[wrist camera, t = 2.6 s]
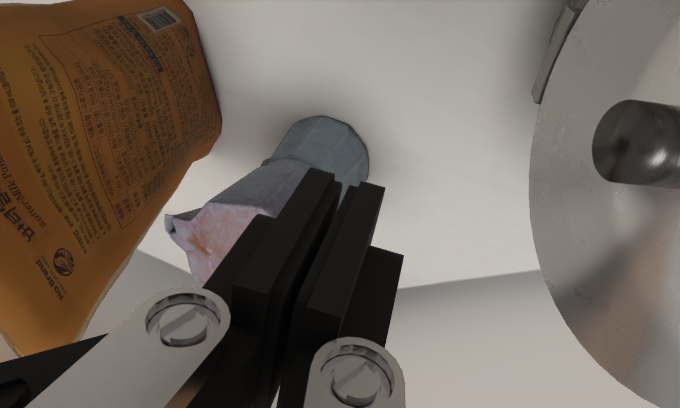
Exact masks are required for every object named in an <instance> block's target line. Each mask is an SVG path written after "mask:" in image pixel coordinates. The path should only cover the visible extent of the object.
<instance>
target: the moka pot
mask: <svg viewBox="0 0 680 408" xmlns="http://www.w3.org/2000/svg"><path fill="white" fill-rule="evenodd" d="M310 167H312V168H316V169H320V170H323V171H327V172H330V173H334V174H335V181H338V182H342V191H341V195H340V200H339V205H338V208H339V206H340V204H341V202H342V200H343V198H344V195H345V193H346V191H347V189H348V187H349V185H353V186H356V187H358V186H359V184H360V182H361V181H363V182H365V181H366V180H367V178H368V156H367V151H366V149H365V147H364V145H363V143H362V142H361V141H360V139H359V138H358V136H357V135H356V134H355V133H354V131H353V130H352V129H351V128H350V127H349V126H347V125H346V124H344V123H341V122H339V121H336V120H333V119H330V118H328V117H322V116H319V117H312V118H308V119H304V120H301V121H298V122H297V123H295V124H293V126H292V127H291V128H290V130H289V131H288V133H287V134H286V136H285V137H284V139H283V140H282V142H281V143H280V145H279V147H278V148H277V150H276V151H275V152H274V154H273V155H272V157H271V158H269V159H266V160H264V161H263V163H262V164H261V166H260V167H259V168H257V169H256V170H254V171H252V172H251V173H249V174H248V175H247V176H245V177H244V178H242V179H240V180H239V181H237V182H236V183H234V184H233V185H232V186H230V187H229V188H227V189H226V190H224V191H223V192H221V193H220V194H218V195H217V196H215V197H214V198H212V199H211V200H209V201H208V202H207V203H206V204H205V205H204V206H203V207H202V208H199V209H195V210H192V211H189V212H185V213H181V214H177V215H168V214H165V220H164V223H165V229H166V232H167V233H168V234H169V235H170V237H171V239H172V240H173V241H174V242H175V243H176V244H177V245H178V246H180V247H181V248H182V249H183V250H184V251H185V252H186V254H187V258H188V262H189V267H190V270H191V273H192V276H193V277H194V278H195V279H196V280H197V281H198V282H199V283H200V284H201V285H203V286H204V285H205V283H206V282H207V280H208V279H209V278H210V276H211V275H212V274H213V272H214V271H215V270H216V268H217V267H218V266H219V264H220V263H221V261H222V260H223V259H224V257H225V256H226V255H227V253H228V252H229V251H230V249H231V248H232V246H233V245H234V244H235V242H236V241H237V240H238V238H239V237H240V236H241V234H242V233H243V232H244V230H245V229H246V227H247V226H248V225H249V223H250V222H251V221H252V219H253V218H254V217H255V216H256V215H257V214H263V215H267V216H270V217H274V218H277V216H278V215H279V213H280V212H281V210H282V209H283V207H284V206H285V204H286V203H287V201H288V199H289V198H290V196H291V195H292V193H293V192H294V190H295V189H296V187H297V186H298V184H299V183H300V181H301V180H302V178H303V177H304V175H305V174H306V172H307V171H308V169H309V168H310Z"/></svg>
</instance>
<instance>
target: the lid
mask: <svg viewBox="0 0 680 408" xmlns="http://www.w3.org/2000/svg"><path fill="white" fill-rule="evenodd" d="M529 206H530V220H531V226H532V233H533V239H534V244H535V248H536V252H537V257H538V261H539V264H540V267H541V270H542V273H543V276H544V279H545V282H546V284H547V287H548V289H549V291H550V293H551V296H552V298H553V300H554V303H555V305H556V306H557V308H558V310H559V312H560V313H561V315H562V317H563V319H564V320H565V322H566V324H567V326H568V327H569V328H570V330H571V331H572V333H573V334H574V335H575V336H576V338H577V339H578V341H579V342H580V344H581V345H582V346H583V347H584V348H585V349H586V350H587V352H588V353H589V354H590V355H591V356H592V357H593V358H594V359H595V361H596V362H597V363H598V364H599V365H600V366H601V367H602V368H604V369H605V370H606V371H607V372H608V373H609V374H610V375H612V376H613V377H614V378H615V379H616V380H617V381H618V382H620V383H621V384H623V385H624V386H625V387H627V388H628V389H630V390H631V391H633V392H634V393H636V394H637V395H639V396H640V397H641V398H643V399H645V400H647V401H649V402H651V403H653V404H655V405H657V406H658V407H660V408H680V0H589V2H588V3H587V5H586V6H585V8H584V9H583V11H582V12H581V14H580V15H579V17H578V19H577V21H576V23H575V24H574V26H573V28H572V30H571V32H570V33H569V35H568V37H567V39H566V41H565V43H564V45H563V47H562V49H561V52H560V54H559V56H558V58H557V60H556V62H555V65H554V68H553V70H552V73H551V75H550V78H549V81H548V83H547V86H546V89H545V92H544V96H543V99H542V102H541V105H540V109H539V113H538V117H537V122H536V126H535V131H534V137H533V143H532V149H531V158H530V170H529Z"/></svg>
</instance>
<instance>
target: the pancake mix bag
mask: <svg viewBox="0 0 680 408" xmlns="http://www.w3.org/2000/svg"><path fill="white" fill-rule="evenodd" d="M221 126H222V117H221V114H220V110H219V107H218V103H217V100H216V96H215V93H214V89H213V86H212V82H211V78H210V75H209V71H208V68H207V65H206V62H205V58H204V55H203V52H202V48H201V45H200V41H199V36H198V32H197V28H196V24H195V20H194V17H193V13H192V12H191V10H190V9H189V8H188V7H187V6H186V4H185V3H184V2H183V1H182V0H72V1H66V2H61V3H54V4H23V3H3V4H0V336H1V337H2V338H3V340H4V341H5V343H6V344H7V345H8V347H9V349H10V350H11V351H12V352H13V354H14V355H15V356H16V357H17V358H20V357H24V356H27V355H31V354H35V353H38V352H42V351H46V350H49V349H53V348H57V347H60V346H64V345H68V344H71V343H75V342H78V341H80V339H81V338H82V337H83V335H84V333H85V331H86V329H87V327H88V324H89V322H90V320H91V318H92V317H93V315H94V313H95V312H96V310H97V308H98V307H99V305H100V303H101V302H102V300H103V299H104V297H105V296H106V294H107V293H108V291H109V290H110V288H111V287H112V286H113V284H114V283H115V281H116V280H117V278H118V277H119V276H120V274H121V273H122V272H123V270H124V269H125V268H126V266H127V265H128V263H129V261H130V259H131V257H132V255H133V253H134V250H135V249H136V248H137V246H138V245H139V244H140V242H141V241H142V240H143V238H144V237H145V235H146V233H147V232H148V230H149V228H150V227H151V225H152V224H153V222H154V221H155V219H156V218H157V216H158V215H159V213H160V212H161V210H162V208H163V207H164V205H165V204H166V203H167V202H168V200H169V199H170V198H171V196H172V195H173V193H174V192H175V191H176V189H177V188H178V186H179V184H180V182H181V181H182V179H183V177H184V176H185V174H186V172H187V170H188V169H189V167H190V166H191V164H192V162H194V161H197V160H199V159H201V158H203V157H205V156H207V155H208V154H209V152H210V150H211V148H212V146H213V144H214V143H215V141H216V140H217V138H218V137H219V136H220V134H221Z"/></svg>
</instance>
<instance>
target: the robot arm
mask: <svg viewBox="0 0 680 408" xmlns="http://www.w3.org/2000/svg"><path fill="white" fill-rule="evenodd" d="M341 191H342V182H338V181H335V174H334V173H330V172H327V171H323V170H320V169H316V168H312V167H310V168H309V169H308V171H307V172H306V174H305V175H304V177H303V178H302V180H301V181H300V183H299V184H298V186H297V187H296V189H295V190H294V192H293V193H292V195H291V196H290V198H289V199H288V201H287V203H286V204H285V206H284V207H283V209H282V210H281V212H280V213H279V215H278V216H277V218H274V217H270V216H267V215H263V214H257V215H256V216H255V217H254V218H253V219H252V221H251V222H250V223H249V225H248V226H247V227H246V229H245V230H244V232H243V233H242V234H241V236H240V237H239V238H238V240H237V241H236V242H235V244H234V245H233V246H232V248H231V249H230V251H229V252H228V253H227V255H226V256H225V257H224V259H223V260H222V261H221V263H220V264H219V266H218V267H217V268H216V270H215V271H214V272H213V274H212V275H211V276H210V278H209V279H208V280H207V282H206V283H205V285H204V286H203V287H202V288H199V287H188V286H187V287H186V286H183V287H176V288H170V289H167V290H165V291H162V292H159V293H157V294H155V295H154V296H153V297H151V298H149V299H148V300H146V301H145V302H144V303H143V304H142V305H141V306H140V307H138V308H137V309H136V310H135V311H134V312H133V313H132V314H131V315H130V316H128V317H127V318H126V319H125V320H124V321H122V323H120V324H119V325H118V326H117V327H116V328H115V329H113V330H112V331H111V332H110V333H108V334H104V335H100V336H97V337H93V338H89V339H86V340H82V341H78V342H75V343H71V344H68V345H64V346H60V347H57V348H53V349H49V350H46V351H42V352H38V353H35V354H31V355H27V356H24V357H20V358H17V359H13V360H9V361H6V362H2V363H0V408H271V405H272V403H273V400H274V398H275V396H276V393H277V391H278V389H279V386H280V389H279V396H278V401H277V407H276V408H406V406H405V382H404V377H403V372H402V369H401V368H400V366H399V364H398V362H397V361H396V359H395V358H394V357H393V356H392V355H391V354H390V353H389V352H388V351H387V350H386V349H385V344H386V339H387V334H388V329H389V325H390V320H391V315H392V310H393V305H394V301H395V296H396V291H397V287H398V282H399V277H400V272H401V268H402V263H403V258H404V255H401V254H398V253H394V252H391V251H387V250H384V249H380V248H377V247H374V246H370V245H371V241H372V237H373V234H374V230H375V226H376V222H377V218H378V215H379V211H380V207H381V203H382V200H383V196H384V192H385V187H381V186H378V185H374V184H370V183H367V182H363V181H361V182H360V184H359V186H358V187H356V186H353V185H349V187H348V189H347V191H346V193H345V195H344V198H343V200H342V202H341V204H340V206H339V208H338V205H339V200H340V195H341Z"/></svg>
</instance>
